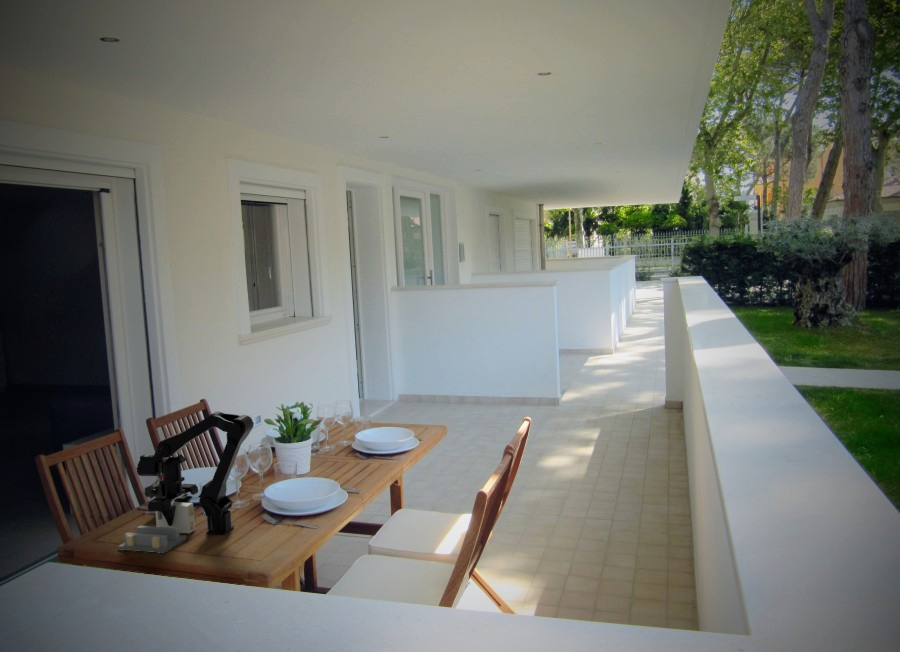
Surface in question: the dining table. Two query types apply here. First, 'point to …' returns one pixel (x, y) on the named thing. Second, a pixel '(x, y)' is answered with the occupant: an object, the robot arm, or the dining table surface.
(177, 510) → the white rectangular block
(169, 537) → the clip plinth
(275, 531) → the dining table surface
